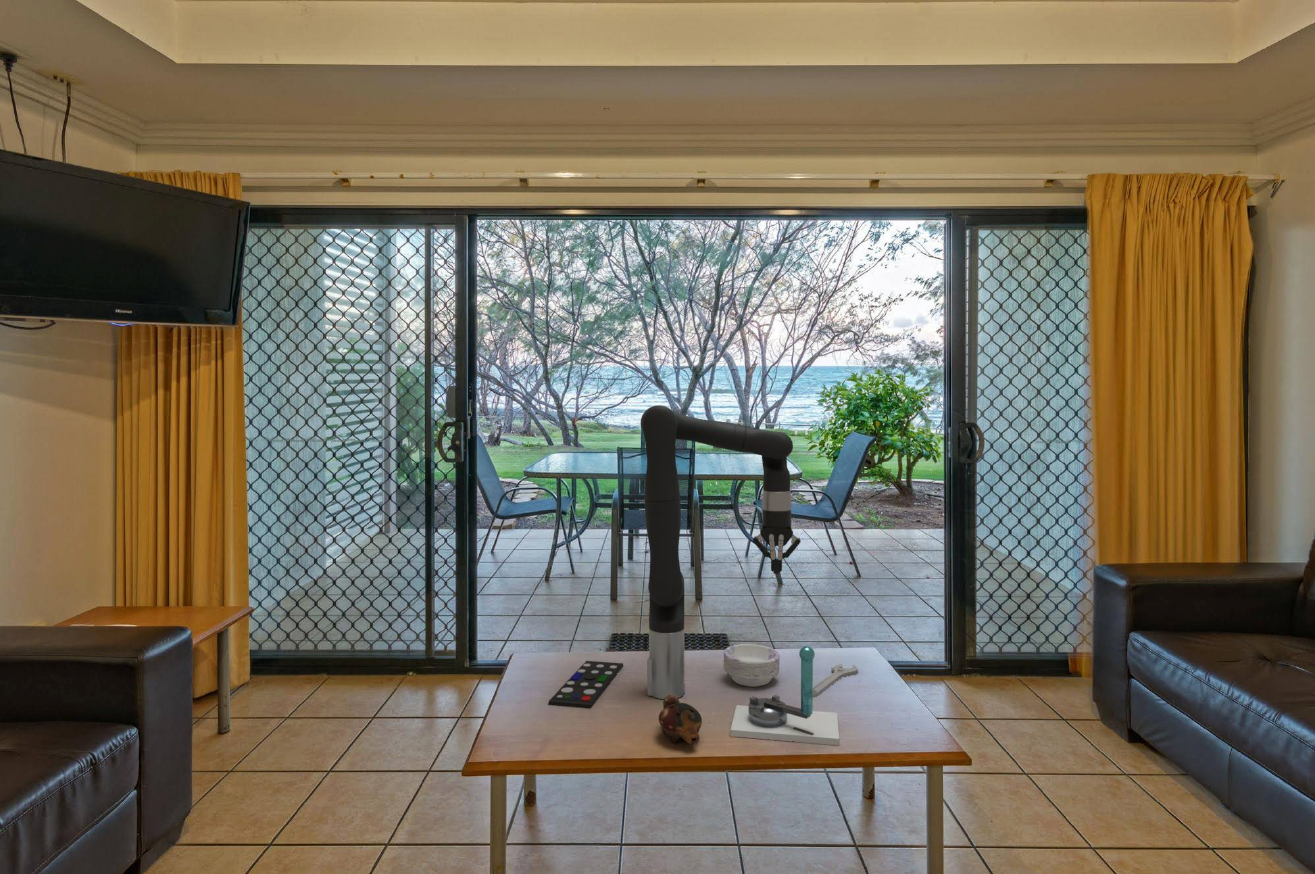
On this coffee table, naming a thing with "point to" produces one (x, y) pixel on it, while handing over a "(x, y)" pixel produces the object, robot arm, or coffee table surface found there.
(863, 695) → the coffee table surface
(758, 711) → the teal handled crank
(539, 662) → the coffee table surface
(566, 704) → the remote control
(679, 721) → the decorative turtle
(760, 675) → the paper bowls
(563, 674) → the coffee table surface
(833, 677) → the adjustable wrench
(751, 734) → the white rectangular board
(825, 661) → the coffee table surface
